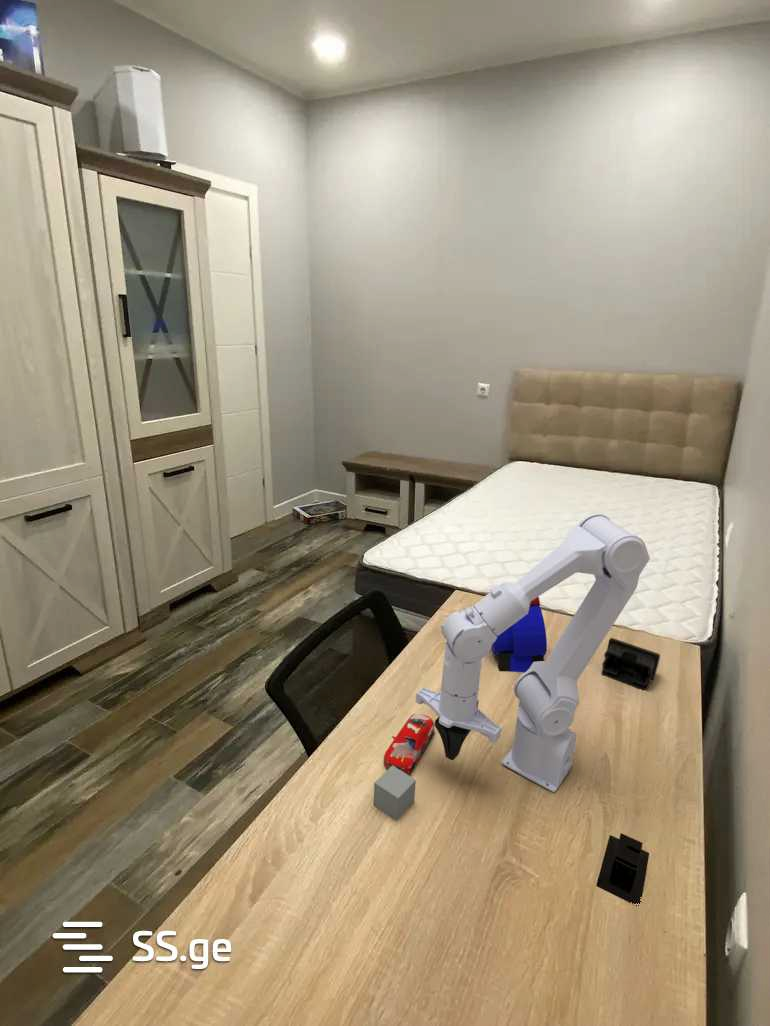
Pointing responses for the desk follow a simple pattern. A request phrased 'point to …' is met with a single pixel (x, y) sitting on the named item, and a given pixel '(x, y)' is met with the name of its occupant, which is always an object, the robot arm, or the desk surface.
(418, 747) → the race car
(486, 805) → the desk surface
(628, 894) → the black open box
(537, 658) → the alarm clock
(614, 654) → the black slotted holder
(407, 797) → the slate block
